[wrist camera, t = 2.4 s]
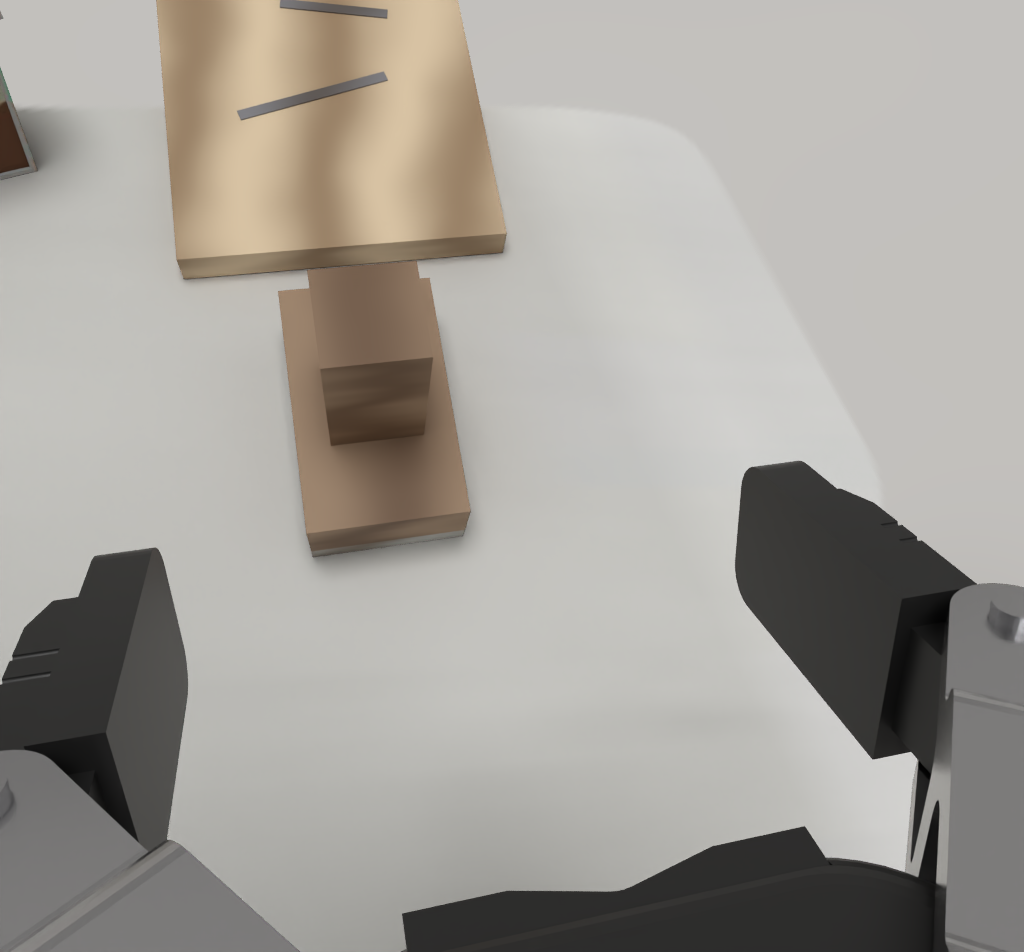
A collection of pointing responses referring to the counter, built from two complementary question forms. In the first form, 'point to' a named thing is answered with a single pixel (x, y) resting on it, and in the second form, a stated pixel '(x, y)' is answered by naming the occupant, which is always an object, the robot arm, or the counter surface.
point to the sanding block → (372, 410)
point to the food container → (12, 138)
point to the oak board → (323, 135)
